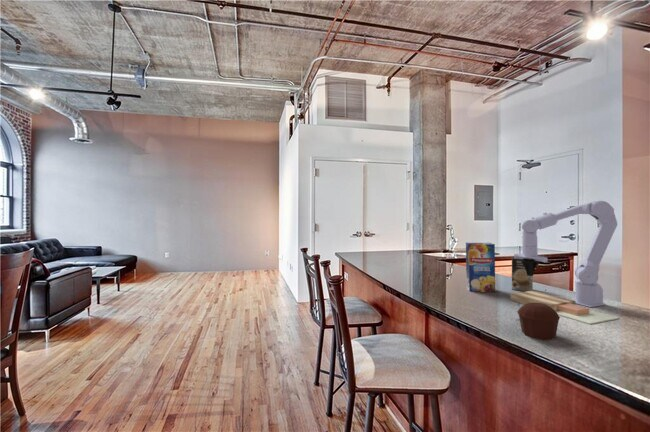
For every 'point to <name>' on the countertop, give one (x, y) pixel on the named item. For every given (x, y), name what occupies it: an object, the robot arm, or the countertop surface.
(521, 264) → the coffee box
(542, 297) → the board
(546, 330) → the muffin
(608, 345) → the countertop surface
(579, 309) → the coaster
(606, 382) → the countertop surface
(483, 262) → the juice carton
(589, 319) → the placemat
